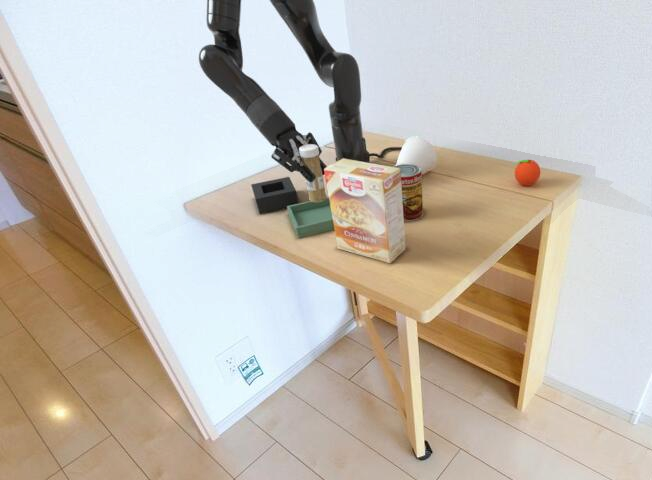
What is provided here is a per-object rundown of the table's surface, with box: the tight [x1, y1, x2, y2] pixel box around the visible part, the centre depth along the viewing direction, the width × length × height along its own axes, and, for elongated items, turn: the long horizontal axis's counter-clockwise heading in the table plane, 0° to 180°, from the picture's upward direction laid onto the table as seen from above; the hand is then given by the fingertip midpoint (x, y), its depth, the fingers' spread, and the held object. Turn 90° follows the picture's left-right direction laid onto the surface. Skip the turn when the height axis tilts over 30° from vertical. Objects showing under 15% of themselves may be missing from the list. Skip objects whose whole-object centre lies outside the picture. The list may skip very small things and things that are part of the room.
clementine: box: [514, 159, 541, 187], centre depth 122 cm, size 8×7×7 cm
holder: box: [251, 176, 300, 215], centre depth 124 cm, size 11×11×4 cm
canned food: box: [393, 164, 424, 222], centre depth 111 cm, size 8×8×12 cm
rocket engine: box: [394, 135, 438, 176], centre depth 128 cm, size 12×12×18 cm
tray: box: [286, 196, 335, 239], centre depth 114 cm, size 16×14×3 cm
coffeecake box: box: [324, 158, 407, 264], centre depth 96 cm, size 15×7×20 cm, turn 58°
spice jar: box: [299, 144, 328, 203], centre depth 107 cm, size 5×5×13 cm
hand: (319, 176), depth 107 cm, fingers closed on spice jar, 4 cm apart
